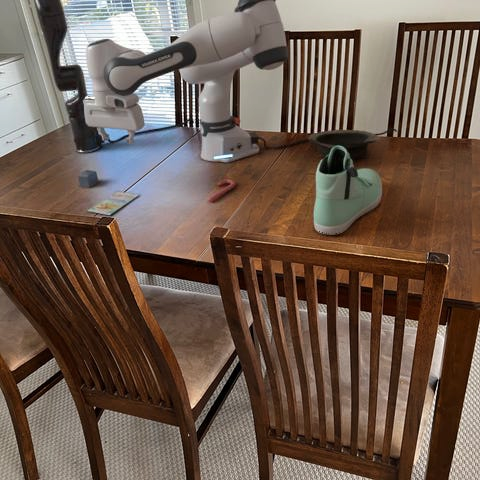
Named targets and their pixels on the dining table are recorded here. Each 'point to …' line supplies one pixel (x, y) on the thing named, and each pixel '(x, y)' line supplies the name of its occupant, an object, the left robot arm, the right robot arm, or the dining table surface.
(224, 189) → the candy cane
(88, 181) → the block
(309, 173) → the dining table surface
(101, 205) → the baking ingredient package
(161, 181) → the dining table surface
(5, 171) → the dining table surface
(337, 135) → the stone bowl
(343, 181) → the sneaker
